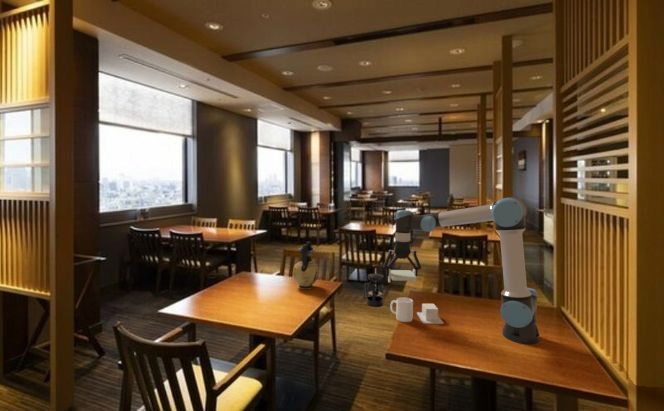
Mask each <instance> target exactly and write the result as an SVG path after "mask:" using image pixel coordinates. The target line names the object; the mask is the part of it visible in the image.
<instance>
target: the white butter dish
mask: <svg viewBox="0 0 664 411" xmlns="http://www.w3.org/2000/svg"><path fill="white" fill-rule="evenodd" d="M416 314H417V316H418V318H419V319H420V321H421V322H422V323H423V325H444V321H443V320H442V319H441V317H440V316H439V308H438V307H437V306H436V305H435V304H434V303H421V311H420V312H419V311H417V312H416Z"/></svg>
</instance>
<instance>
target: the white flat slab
mask: <svg viewBox="0 0 664 411" xmlns="http://www.w3.org/2000/svg"><path fill="white" fill-rule="evenodd" d="M390 270H391V279H390V280H392V281H397V282H398V281H401V282H402V281H409V282H410V281H412V282H413V281H415V282H417V279H418V276H415V275H414V274H413V271H412V270H410V269H406V270H405V269H390Z"/></svg>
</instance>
